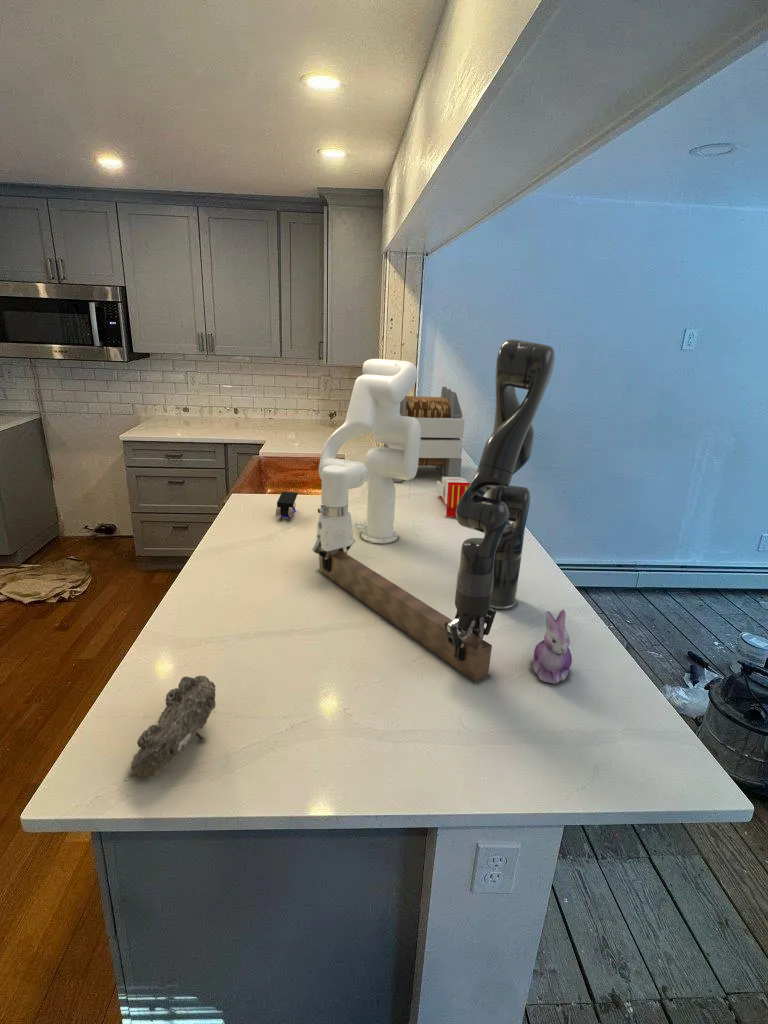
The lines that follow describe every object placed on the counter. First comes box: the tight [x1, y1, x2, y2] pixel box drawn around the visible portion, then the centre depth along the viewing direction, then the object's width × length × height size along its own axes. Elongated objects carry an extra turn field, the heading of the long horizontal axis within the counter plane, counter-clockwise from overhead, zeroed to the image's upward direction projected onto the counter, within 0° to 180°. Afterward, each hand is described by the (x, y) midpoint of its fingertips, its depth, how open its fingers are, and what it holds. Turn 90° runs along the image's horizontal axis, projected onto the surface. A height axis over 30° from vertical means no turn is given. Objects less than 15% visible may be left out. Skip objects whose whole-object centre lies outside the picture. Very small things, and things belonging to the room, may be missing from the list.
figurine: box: [532, 609, 573, 684], centre depth 124 cm, size 9×10×15 cm
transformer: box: [383, 386, 465, 483], centre depth 268 cm, size 34×33×41 cm
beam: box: [318, 547, 493, 683], centre depth 145 cm, size 64×4×8 cm, turn 37°
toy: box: [435, 476, 471, 518], centre depth 229 cm, size 12×13×30 cm
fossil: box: [130, 675, 217, 778], centre depth 101 cm, size 22×10×15 cm
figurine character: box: [275, 491, 299, 522], centre depth 211 cm, size 7×8×15 cm
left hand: (333, 567), depth 166 cm, fingers closed on beam, 4 cm apart
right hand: (466, 655), depth 126 cm, fingers closed on beam, 4 cm apart
